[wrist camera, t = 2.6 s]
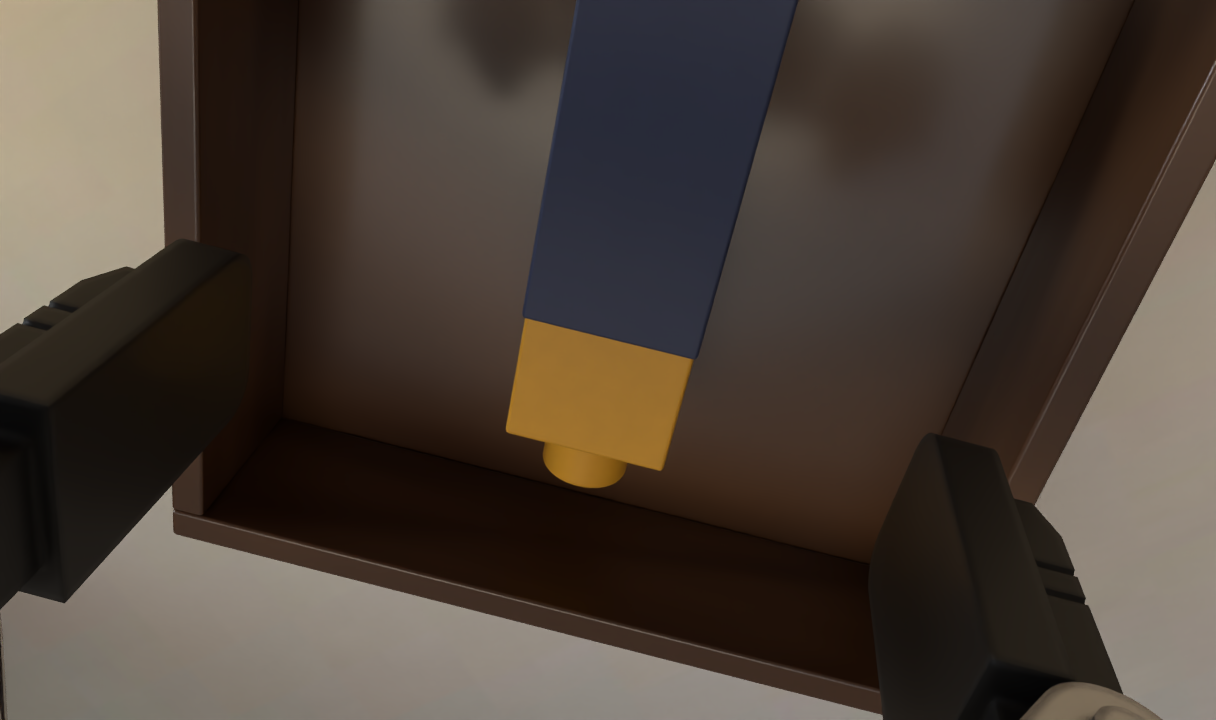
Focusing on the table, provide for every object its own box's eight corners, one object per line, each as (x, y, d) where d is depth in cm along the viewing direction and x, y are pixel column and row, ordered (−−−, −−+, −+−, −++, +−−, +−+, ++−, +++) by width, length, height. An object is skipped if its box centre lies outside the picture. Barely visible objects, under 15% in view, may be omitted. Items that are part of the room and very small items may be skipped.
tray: (290, -435, 15) (138, -508, 11) (1262, -216, 14) (1419, -221, 11) (266, 419, 22) (171, 535, 19) (897, 579, 22) (920, 725, 18)
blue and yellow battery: (628, -149, 15) (599, -139, 13) (815, -105, 15) (823, -87, 13) (526, 404, 20) (491, 489, 18) (665, 439, 20) (649, 529, 18)
